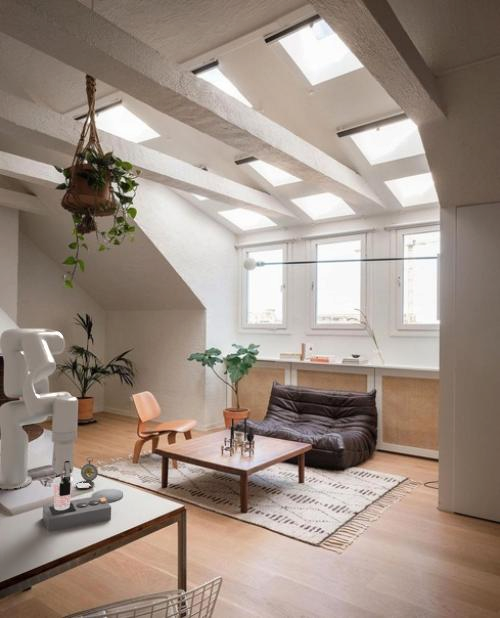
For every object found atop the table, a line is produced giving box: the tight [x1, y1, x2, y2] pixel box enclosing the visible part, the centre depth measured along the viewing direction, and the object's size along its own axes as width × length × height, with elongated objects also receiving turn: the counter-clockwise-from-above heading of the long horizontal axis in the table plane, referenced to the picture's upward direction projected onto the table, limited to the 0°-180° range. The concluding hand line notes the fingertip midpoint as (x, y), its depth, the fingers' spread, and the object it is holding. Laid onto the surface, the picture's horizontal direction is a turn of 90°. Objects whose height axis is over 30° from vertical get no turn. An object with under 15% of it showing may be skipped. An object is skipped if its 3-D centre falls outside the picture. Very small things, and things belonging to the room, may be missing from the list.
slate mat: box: [91, 488, 124, 504], centre depth 174 cm, size 11×11×1 cm
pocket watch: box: [76, 457, 99, 488], centre depth 184 cm, size 8×8×10 cm
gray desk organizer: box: [42, 495, 112, 533], centre depth 156 cm, size 11×19×5 cm, turn 122°
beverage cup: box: [52, 471, 74, 510], centre depth 154 cm, size 6×6×14 cm
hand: (62, 490), depth 154 cm, fingers closed on beverage cup, 6 cm apart
